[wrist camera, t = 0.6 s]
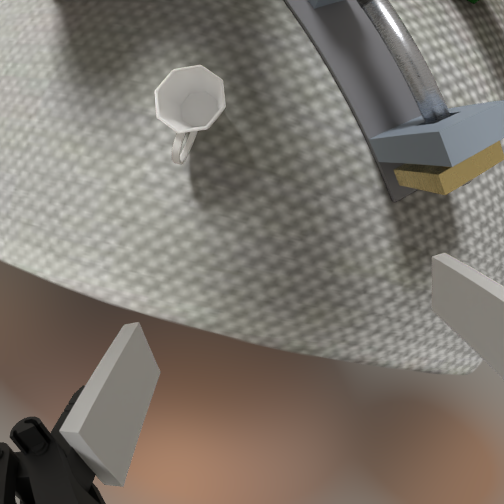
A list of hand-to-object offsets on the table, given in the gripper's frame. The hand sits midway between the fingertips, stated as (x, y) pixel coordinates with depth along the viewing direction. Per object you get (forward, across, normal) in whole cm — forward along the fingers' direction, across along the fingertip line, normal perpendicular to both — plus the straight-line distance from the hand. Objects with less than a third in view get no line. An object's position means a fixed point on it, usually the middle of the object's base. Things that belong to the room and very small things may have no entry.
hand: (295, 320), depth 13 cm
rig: (+26, +17, +16) cm, 35 cm away
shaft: (+18, +18, +14) cm, 29 cm away
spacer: (+17, +21, +3) cm, 27 cm away
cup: (+26, -5, +12) cm, 29 cm away
